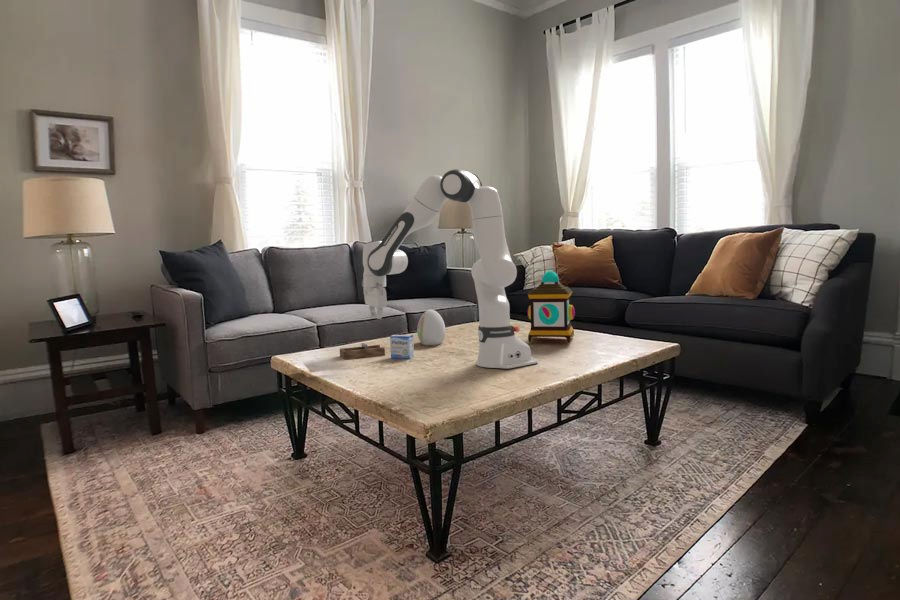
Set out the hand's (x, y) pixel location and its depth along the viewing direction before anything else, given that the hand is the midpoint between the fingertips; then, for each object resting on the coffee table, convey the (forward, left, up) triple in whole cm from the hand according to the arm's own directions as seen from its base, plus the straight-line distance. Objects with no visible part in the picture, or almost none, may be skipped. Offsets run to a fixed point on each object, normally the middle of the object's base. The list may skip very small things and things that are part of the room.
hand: (376, 317), depth 215 cm
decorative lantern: (-74, +11, -15) cm, 76 cm away
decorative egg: (-27, -10, -15) cm, 32 cm away
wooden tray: (+6, 0, -15) cm, 16 cm away
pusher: (+6, 0, -15) cm, 16 cm away
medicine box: (-6, +13, -15) cm, 21 cm away
